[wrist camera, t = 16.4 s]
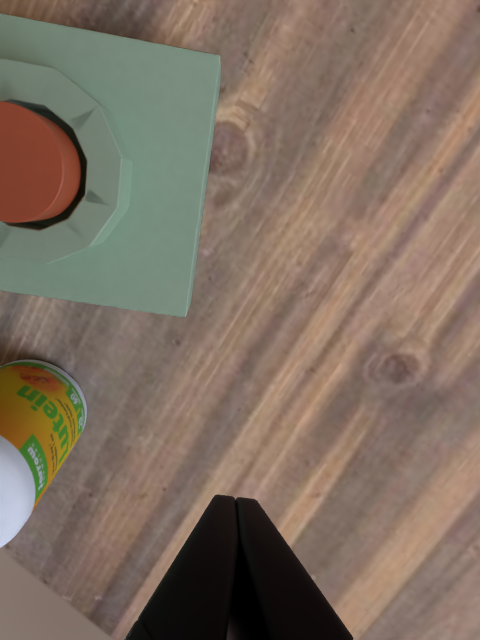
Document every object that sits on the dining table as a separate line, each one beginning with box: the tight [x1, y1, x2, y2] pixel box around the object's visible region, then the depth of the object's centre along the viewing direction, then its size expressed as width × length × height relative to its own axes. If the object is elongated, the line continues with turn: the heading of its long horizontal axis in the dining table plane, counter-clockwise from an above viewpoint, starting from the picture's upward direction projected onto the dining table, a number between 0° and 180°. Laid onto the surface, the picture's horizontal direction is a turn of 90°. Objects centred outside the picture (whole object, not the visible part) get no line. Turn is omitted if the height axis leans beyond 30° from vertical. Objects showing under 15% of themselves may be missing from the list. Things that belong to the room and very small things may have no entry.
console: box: [0, 13, 221, 317], centre depth 17 cm, size 10×12×4 cm
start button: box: [0, 101, 81, 223], centre depth 14 cm, size 4×4×2 cm
